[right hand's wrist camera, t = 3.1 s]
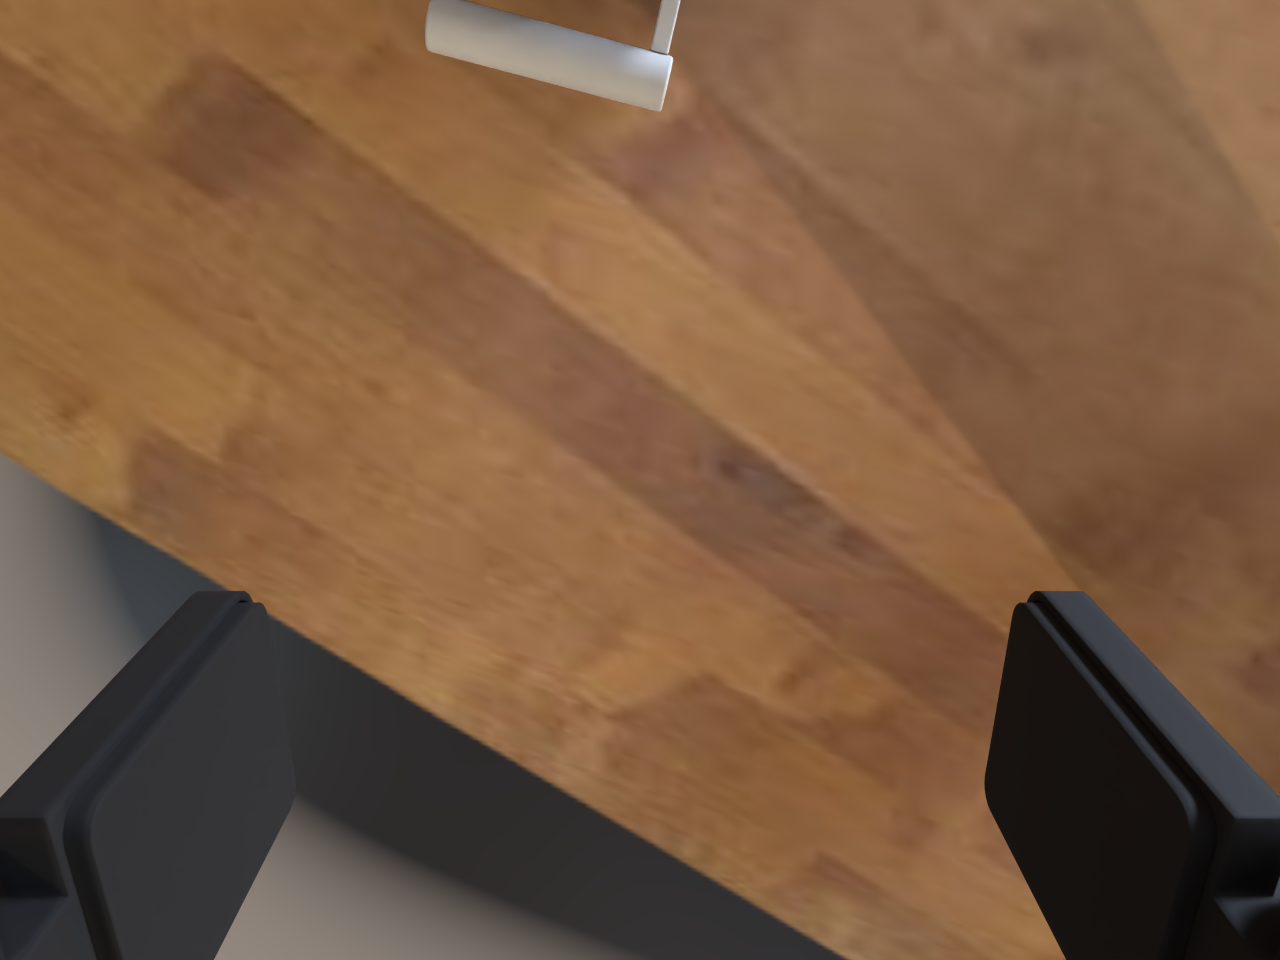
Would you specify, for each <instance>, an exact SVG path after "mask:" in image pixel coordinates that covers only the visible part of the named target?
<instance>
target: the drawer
mask: <svg viewBox="0 0 1280 960" xmlns="http://www.w3.org/2000/svg"><path fill="white" fill-rule="evenodd" d="M680 1H681V0H661V2H660V7H659V11H658V16H657V20H656V25H655V29H654V34H653V38H652V42H651V47H650V50H651V51H650V50H646V49H643V48H639V47H635V46H632V45H628V44H624V43H620V42H617V41H613V40H609V39H606V38H602V37H598V36H595V35H591V34H587V33H583V32H580V31H576V30H572V29H569V28H565V27H561V26H557V25H554V24H550V23H546V22H543V21H539V20H535V19H531V18H528V17H524V16H520V15H517V14H513V13H509V12H505V11H502V10H498V9H494V8H491V7H487V6H483V5H480V4H476V3H472V2H468V1H465V0H430V3H429V6H428V10H427V15H426V21H425V45H426V48H427V50H428V51H430V52H433V53H437V54H441V55H445V56H449V57H452V58H456V59H460V60H464V61H467V62H471V63H475V64H479V65H483V66H486V67H490V68H494V69H498V70H502V71H505V72H509V73H513V74H517V75H520V76H524V77H528V78H532V79H536V80H539V81H543V82H547V83H551V84H555V85H558V86H562V87H566V88H570V89H574V90H577V91H581V92H585V93H589V94H592V95H596V96H600V97H604V98H608V99H611V100H615V101H619V102H623V103H627V104H630V105H634V106H638V107H642V108H645V109H649V110H653V111H657V112H659V111H661V109H662V106H663V102H664V98H665V94H666V89H667V85H668V81H669V76H670V72H671V68H672V63H673V57H671V56H669V55H667V54H668V52H669V48H670V44H671V40H672V35H673V31H674V27H675V22H676V18H677V14H678V9H679V5H680Z"/></svg>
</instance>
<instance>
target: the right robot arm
mask: <svg viewBox="0 0 1280 960" xmlns="http://www.w3.org/2000/svg"><path fill="white" fill-rule="evenodd" d="M294 794H295V773H294V767H293V761H292V756H291V750H290V744H289V738H288V732H287V726H286V720H285V715H284V709H283V703H282V697H281V691H280V686H279V680H278V674H277V668H276V662H275V656H274V651H273V644H272V639H271V633H270V627H269V621H268V615H267V612H266V609H265V607H264V605H263V604H262V603H253V601H252V599H251V597H250V595H249V594H248V593H247V592H245V591H198V592H196V593H194V594H193V595H192V596H191V597H190V598H189V599H188V600H187V601H186V602H185V603H184V604H183V605H182V606H181V607H180V608H179V609H178V610H177V611H176V613H175V614H174V615H173V616H172V617H171V618H170V619H169V620H168V621H167V622H166V623H165V624H164V625H163V626H162V627H161V628H160V629H159V630H158V632H157V633H156V634H155V635H154V636H153V637H152V638H151V639H150V640H149V641H148V642H147V643H146V644H145V645H144V646H143V647H142V648H141V650H140V651H139V652H138V653H137V654H136V655H135V656H134V657H133V658H132V659H131V660H130V661H129V662H128V663H127V664H126V665H125V666H124V667H123V669H122V670H121V671H120V672H119V673H118V674H117V675H116V676H115V677H114V678H113V679H112V680H111V681H110V682H109V683H108V684H107V685H106V687H105V688H104V689H103V690H102V691H101V692H100V693H99V694H98V695H97V696H96V697H95V698H94V699H93V700H92V701H91V702H90V703H89V704H88V706H87V707H86V708H85V709H84V710H83V711H82V712H81V713H80V714H79V715H78V716H77V717H76V718H75V719H74V720H73V721H72V722H71V723H70V725H69V726H68V727H67V728H66V729H65V730H64V731H63V732H62V733H61V734H60V735H59V736H58V737H57V738H56V739H55V740H54V741H53V743H52V744H51V745H50V746H49V747H48V748H47V749H46V750H45V751H44V752H43V753H42V754H41V755H40V756H39V757H38V758H37V759H36V761H35V762H34V763H33V764H32V765H31V766H30V767H29V768H28V769H27V770H26V771H25V772H24V773H23V774H22V775H21V776H20V777H19V778H18V779H17V781H16V782H15V783H14V784H13V785H12V786H11V787H10V788H9V789H8V790H7V791H6V792H5V793H4V794H3V795H2V796H1V798H0V960H214V958H215V956H216V954H217V952H218V950H219V948H220V947H221V945H222V943H223V941H224V939H225V937H226V935H227V933H228V931H229V929H230V927H231V925H232V923H233V921H234V919H235V917H236V915H237V913H238V911H239V909H240V907H241V905H242V903H243V901H244V899H245V897H246V895H247V893H248V891H249V889H250V888H251V886H252V884H253V882H254V880H255V878H256V876H257V874H258V872H259V870H260V868H261V866H262V864H263V862H264V860H265V858H266V856H267V854H268V852H269V850H270V848H271V846H272V844H273V842H274V840H275V838H276V836H277V834H278V832H279V831H280V828H281V827H282V825H283V823H284V821H285V819H286V817H287V815H288V813H289V811H290V809H291V806H292V803H293V799H294ZM985 794H986V799H987V803H988V806H989V809H990V811H991V813H992V815H993V817H994V819H995V821H996V823H997V825H998V827H999V829H1000V831H1001V833H1002V834H1003V836H1004V838H1005V840H1006V842H1007V844H1008V846H1009V848H1010V850H1011V852H1012V854H1013V856H1014V858H1015V860H1016V862H1017V864H1018V866H1019V868H1020V870H1021V872H1022V874H1023V876H1024V878H1025V880H1026V882H1027V884H1028V886H1029V888H1030V890H1031V892H1032V893H1033V895H1034V897H1035V899H1036V901H1037V903H1038V905H1039V907H1040V909H1041V911H1042V913H1043V915H1044V917H1045V919H1046V921H1047V923H1048V925H1049V927H1050V929H1051V931H1052V933H1053V935H1054V937H1055V939H1056V941H1057V943H1058V945H1059V947H1060V949H1061V950H1062V952H1063V954H1064V956H1065V958H1066V960H1280V797H1279V796H1278V795H1277V794H1276V793H1275V792H1274V791H1273V790H1272V789H1271V788H1270V787H1269V786H1268V785H1267V784H1266V783H1265V782H1264V781H1263V779H1262V778H1261V777H1260V776H1259V775H1258V774H1257V773H1256V772H1255V771H1254V770H1253V769H1252V768H1251V767H1250V766H1249V765H1248V764H1247V763H1246V762H1245V760H1244V759H1243V758H1242V757H1241V756H1240V755H1239V754H1238V753H1237V752H1236V751H1235V750H1234V749H1233V748H1232V747H1231V746H1230V745H1229V744H1228V742H1227V741H1226V740H1225V739H1224V738H1223V737H1222V736H1221V735H1220V734H1219V733H1218V732H1217V731H1216V730H1215V729H1214V728H1213V727H1212V726H1211V725H1210V723H1209V722H1208V721H1207V720H1206V719H1205V718H1204V717H1203V716H1202V715H1201V714H1200V713H1199V712H1198V711H1197V710H1196V709H1195V708H1194V707H1193V706H1192V704H1191V703H1190V702H1189V701H1188V700H1187V699H1186V698H1185V697H1184V696H1183V695H1182V694H1181V693H1180V692H1179V691H1178V690H1177V689H1176V688H1175V686H1174V685H1173V684H1172V683H1171V682H1170V681H1169V680H1168V679H1167V678H1166V677H1165V676H1164V675H1163V674H1162V673H1161V672H1160V671H1159V670H1158V669H1157V667H1156V666H1155V665H1154V664H1153V663H1152V662H1151V661H1150V660H1149V659H1148V658H1147V657H1146V656H1145V655H1144V654H1143V653H1142V652H1141V651H1140V650H1139V648H1138V647H1137V646H1136V645H1135V644H1134V643H1133V642H1132V641H1131V640H1130V639H1129V638H1128V637H1127V636H1126V635H1125V634H1124V633H1123V632H1122V630H1121V629H1120V628H1119V627H1118V626H1117V625H1116V624H1115V623H1114V622H1113V621H1112V620H1111V619H1110V618H1109V617H1108V616H1107V615H1106V614H1105V613H1104V611H1103V610H1102V609H1101V608H1100V607H1099V606H1098V605H1097V604H1096V603H1095V602H1094V601H1093V600H1092V599H1091V598H1090V597H1089V596H1088V595H1087V594H1086V593H1084V592H1083V591H1035V592H1033V593H1032V594H1031V595H1030V597H1029V599H1028V601H1027V603H1018V604H1017V605H1016V607H1015V609H1014V612H1013V615H1012V621H1011V627H1010V633H1009V639H1008V644H1007V650H1006V656H1005V662H1004V668H1003V674H1002V680H1001V685H1000V691H999V697H998V703H997V709H996V715H995V720H994V726H993V732H992V738H991V744H990V750H989V756H988V761H987V767H986V773H985Z"/></svg>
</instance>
